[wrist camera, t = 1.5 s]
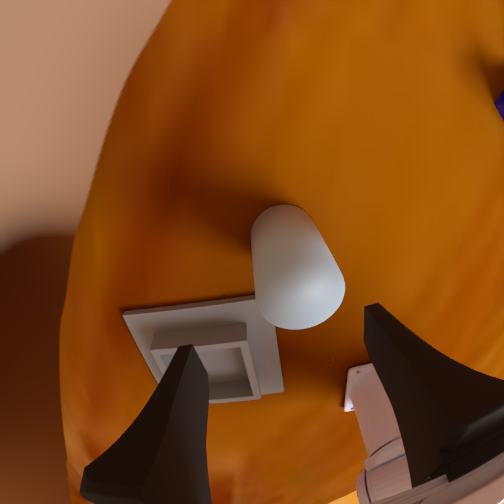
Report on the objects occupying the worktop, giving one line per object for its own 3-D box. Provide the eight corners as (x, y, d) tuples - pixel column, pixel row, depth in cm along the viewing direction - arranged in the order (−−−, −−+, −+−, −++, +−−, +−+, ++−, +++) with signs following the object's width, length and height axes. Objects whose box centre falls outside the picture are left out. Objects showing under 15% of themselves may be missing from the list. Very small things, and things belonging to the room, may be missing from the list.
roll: (313, 199, 20) (345, 248, 14) (317, 258, 22) (344, 321, 16) (245, 210, 20) (248, 263, 14) (255, 268, 22) (261, 335, 16)
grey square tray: (270, 292, 23) (273, 314, 21) (283, 387, 29) (286, 407, 27) (124, 310, 24) (115, 331, 22) (169, 397, 29) (166, 416, 27)
